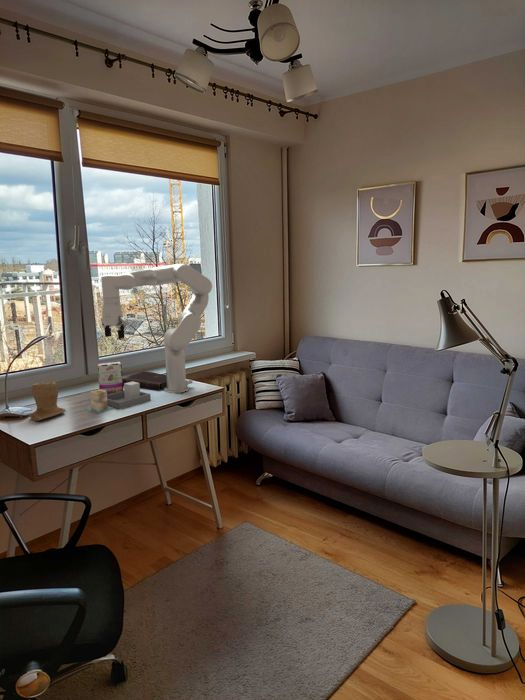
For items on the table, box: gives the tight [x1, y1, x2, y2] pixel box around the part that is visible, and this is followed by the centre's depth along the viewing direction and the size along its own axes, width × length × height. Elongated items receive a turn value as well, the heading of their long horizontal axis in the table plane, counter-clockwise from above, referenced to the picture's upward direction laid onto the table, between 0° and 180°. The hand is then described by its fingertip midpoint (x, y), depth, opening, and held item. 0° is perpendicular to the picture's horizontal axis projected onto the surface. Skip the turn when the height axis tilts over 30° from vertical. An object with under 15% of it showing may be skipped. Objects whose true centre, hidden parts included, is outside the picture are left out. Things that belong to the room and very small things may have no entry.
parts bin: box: [107, 390, 152, 410], centre depth 232 cm, size 18×15×4 cm
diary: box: [122, 370, 167, 392], centre depth 263 cm, size 19×25×5 cm
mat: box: [84, 406, 114, 415], centre depth 221 cm, size 8×10×1 cm
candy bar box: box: [96, 361, 124, 395], centre depth 242 cm, size 11×5×16 cm, turn 112°
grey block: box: [123, 381, 141, 400], centre depth 234 cm, size 5×5×8 cm
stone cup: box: [28, 381, 67, 422], centre depth 212 cm, size 15×12×15 cm
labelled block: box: [89, 388, 109, 411], centre depth 220 cm, size 5×5×8 cm
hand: (114, 337), depth 236 cm, fingers open, 9 cm apart
